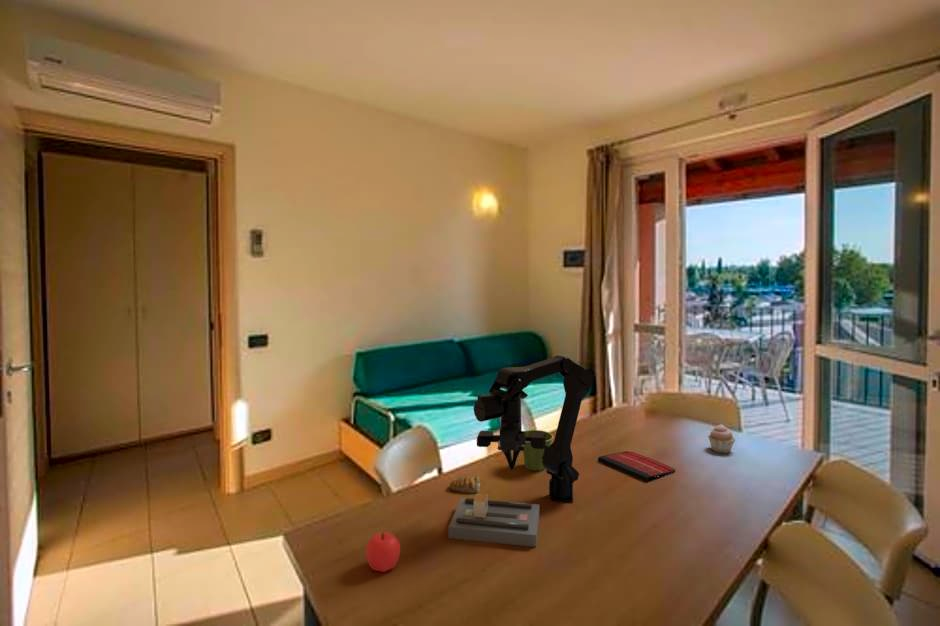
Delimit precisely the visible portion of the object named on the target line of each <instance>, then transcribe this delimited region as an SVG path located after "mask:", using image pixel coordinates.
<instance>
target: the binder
mask: <svg viewBox="0 0 940 626" xmlns="http://www.w3.org/2000/svg"><path fill="white" fill-rule="evenodd" d="M597 461H598V462H599V463H601V464H603V465H606V466H608V467H610V468H612V469H615V470H617V471H620V472H622V473H624V474H625V475H628V476H631V477H633V478H636V479H637V480H640V481H643V482H645V483H648V480H650V479H652V477H653V478H656V479H655V480H658V479H661V478H664V477H666V476H665V475H667V476H669V475H668V474H670V475H672V474H675V473H676V469H675V468H673V467H671V466H669V465H667V464H665V463H662V462H659V461H657V460H655V459H653V458H650V457H647V456H644V455H641V454H639V453H635V452H633V451H628V450H625V451H621V452H615V453H611V454H610V453H609V454H606V455H600V456H598V458H597ZM674 472H675V473H674ZM671 473H672V474H671ZM655 476H656V477H655ZM657 476H659V477H657Z"/></svg>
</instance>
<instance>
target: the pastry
mask: <svg viewBox="0 0 940 626" xmlns="http://www.w3.org/2000/svg"><path fill="white" fill-rule="evenodd" d="M449 486H450V489H451V490H452V491H455V492H459V493H465V492H468V493H467V494H478V493H479V492H480V486H481V481H480V478H479V476H475V477H474V476H465V477H461V478H459V477H458V478H457V479H453V480H452V481H451V482H450V483H449ZM477 492H478V493H477Z"/></svg>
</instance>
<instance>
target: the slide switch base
mask: <svg viewBox="0 0 940 626" xmlns="http://www.w3.org/2000/svg"><path fill="white" fill-rule="evenodd" d="M474 500H475V498H467V497H466V498H465V497H462V498H460V501H459V503H458V505H457V507H456V510H455V512H454V514H453V516H452V518H451V520H450V522H449V525H448V528H447V529H448V539H452V538H453V539H455V540H462V539H464V541H472V540H475V542H481V543H482V542H484V543H493V544H495V543H496V544H504V545H512V546H513V545H514V546H524V547H534V548H536V547H537V542H538V541H537V540H538V531H539V521H540V506H541V505H540V504H537V503H526V502H517V501H506V500H492V499H488V510H487V513H486V516H485V518H481V517H474V504H473V502H474ZM453 539H452V540H453Z"/></svg>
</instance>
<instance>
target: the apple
mask: <svg viewBox="0 0 940 626" xmlns="http://www.w3.org/2000/svg"><path fill="white" fill-rule="evenodd" d="M365 547H366V548H365V556H366V560H367V564H368V566H369V567H370V568H371V569H372V570H373V571H377V572H382V573H384V572H388V571H390V570H392V569H393V568H395V567H396V565H397V563H398V562H399V559H400V558H399V557H400V553H401V543H400V540H399V539H398V538H397V537H396V536H395V535H394V534H393V533H392V532H387V531H381V532H378V533H375V534H373V535H372V537H371V538H370V539H369V541H368V543H367V545H366V546H365Z"/></svg>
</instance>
